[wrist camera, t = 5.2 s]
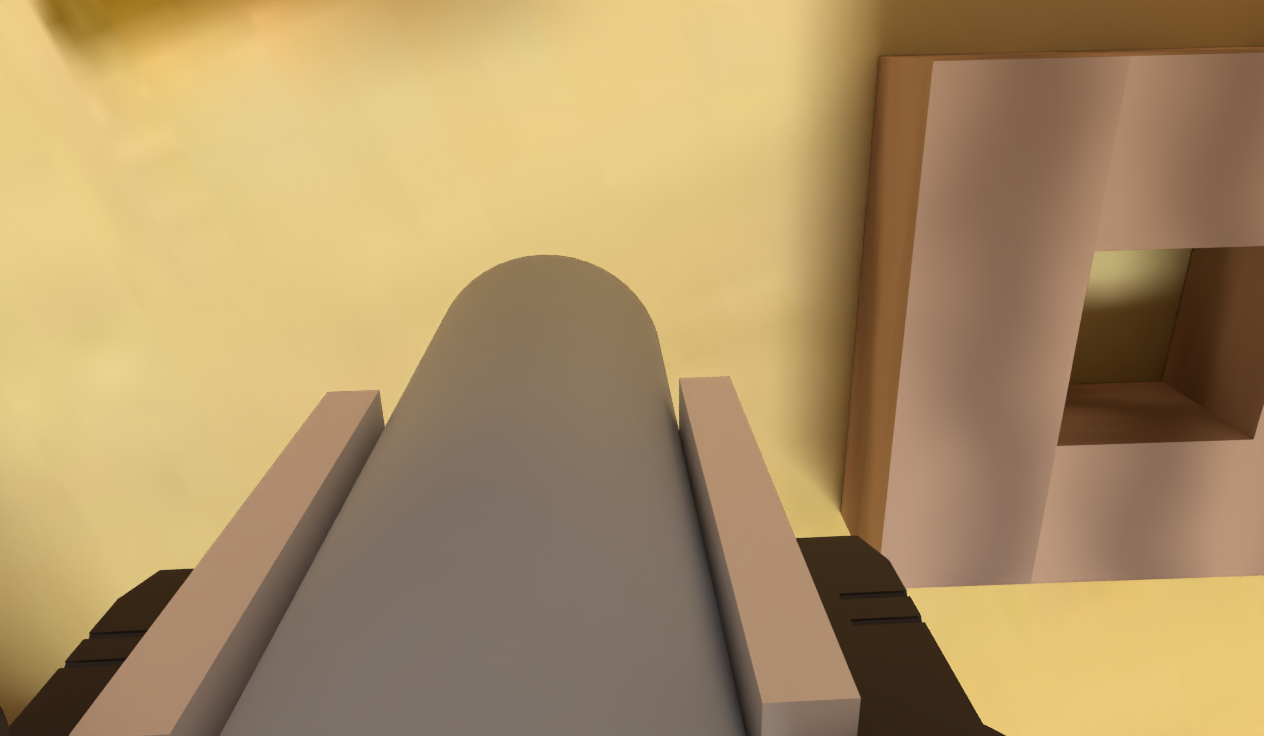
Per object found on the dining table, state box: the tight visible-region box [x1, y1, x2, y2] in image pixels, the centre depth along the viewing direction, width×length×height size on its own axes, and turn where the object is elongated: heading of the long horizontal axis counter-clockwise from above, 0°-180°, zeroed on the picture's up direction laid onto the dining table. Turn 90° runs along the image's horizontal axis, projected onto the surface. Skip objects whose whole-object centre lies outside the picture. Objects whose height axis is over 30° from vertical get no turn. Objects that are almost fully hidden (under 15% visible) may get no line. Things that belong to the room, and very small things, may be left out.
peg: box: [220, 255, 747, 736], centre depth 9 cm, size 4×4×16 cm
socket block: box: [841, 46, 1264, 588], centre depth 26 cm, size 16×16×4 cm
